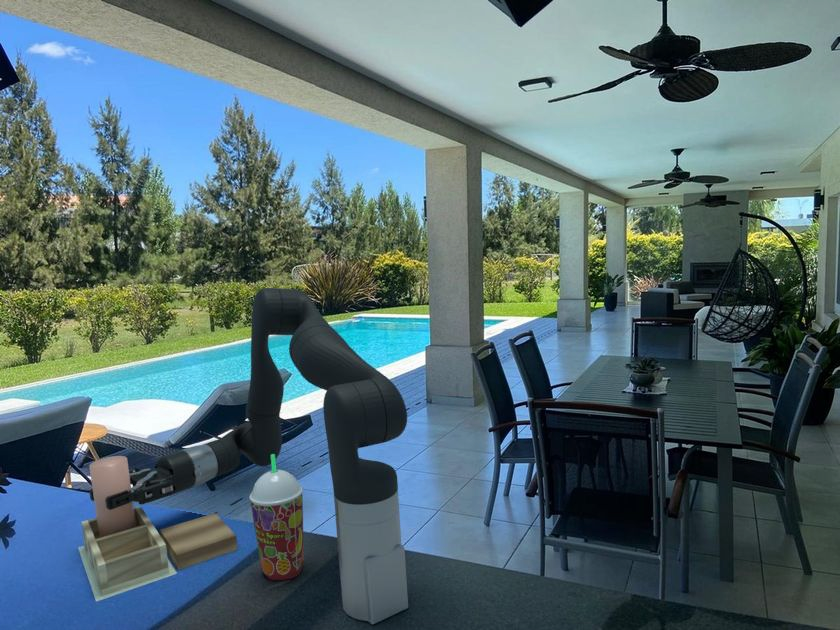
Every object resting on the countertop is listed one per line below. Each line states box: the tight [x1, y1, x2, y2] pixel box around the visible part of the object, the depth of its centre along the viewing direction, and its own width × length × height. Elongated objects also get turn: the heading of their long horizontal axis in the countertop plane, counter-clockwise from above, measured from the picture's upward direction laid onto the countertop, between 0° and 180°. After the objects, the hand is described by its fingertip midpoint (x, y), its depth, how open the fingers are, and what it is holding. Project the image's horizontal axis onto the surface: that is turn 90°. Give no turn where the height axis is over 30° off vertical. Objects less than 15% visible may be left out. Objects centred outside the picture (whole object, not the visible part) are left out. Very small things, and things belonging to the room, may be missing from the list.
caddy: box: [81, 505, 169, 596], centre depth 107 cm, size 20×10×5 cm, turn 35°
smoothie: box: [248, 454, 305, 582], centre depth 99 cm, size 8×8×20 cm
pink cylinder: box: [89, 455, 136, 538], centre depth 110 cm, size 6×6×14 cm
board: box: [159, 512, 238, 571], centre depth 110 cm, size 12×10×3 cm
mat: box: [78, 545, 178, 603], centre depth 107 cm, size 22×12×1 cm, turn 35°
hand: (98, 499), depth 108 cm, fingers closed on pink cylinder, 6 cm apart
